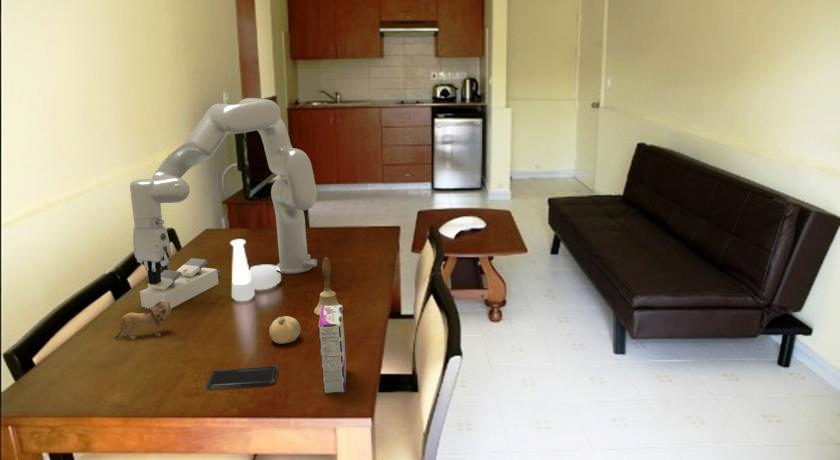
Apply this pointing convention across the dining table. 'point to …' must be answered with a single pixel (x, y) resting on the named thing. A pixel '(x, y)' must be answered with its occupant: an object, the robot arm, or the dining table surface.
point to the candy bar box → (332, 348)
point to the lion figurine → (146, 318)
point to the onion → (284, 330)
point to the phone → (242, 378)
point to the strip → (181, 288)
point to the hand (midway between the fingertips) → (155, 282)
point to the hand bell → (326, 289)
